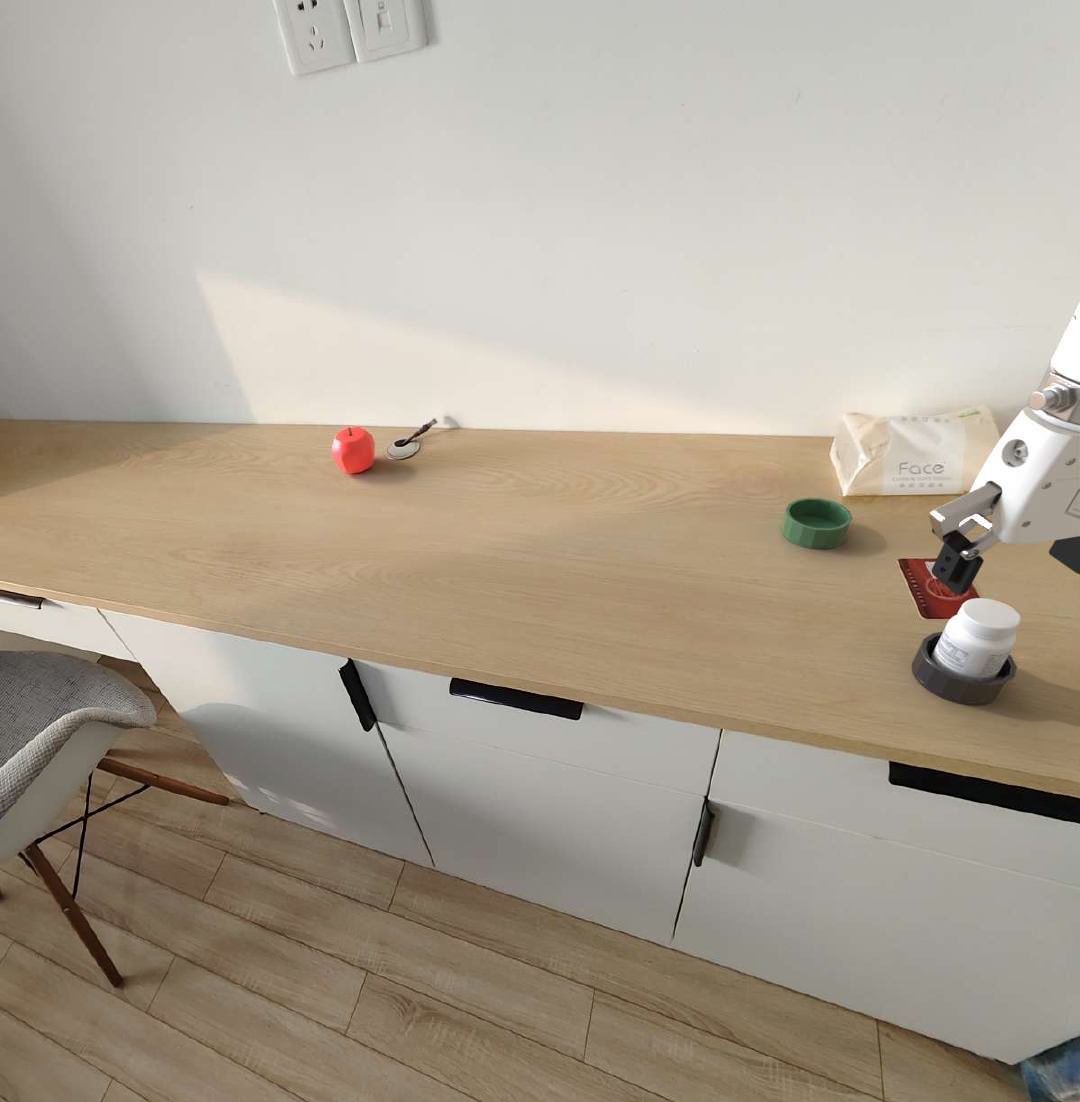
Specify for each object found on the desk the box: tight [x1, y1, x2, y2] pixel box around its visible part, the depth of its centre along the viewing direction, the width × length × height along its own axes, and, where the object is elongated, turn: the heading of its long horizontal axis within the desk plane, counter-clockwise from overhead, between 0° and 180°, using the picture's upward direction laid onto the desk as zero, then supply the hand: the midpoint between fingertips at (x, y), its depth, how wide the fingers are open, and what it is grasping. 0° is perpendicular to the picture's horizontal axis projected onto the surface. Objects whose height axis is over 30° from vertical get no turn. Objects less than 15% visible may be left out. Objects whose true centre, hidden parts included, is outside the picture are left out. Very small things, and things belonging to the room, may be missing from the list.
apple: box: [331, 426, 376, 475], centre depth 116 cm, size 8×8×8 cm
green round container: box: [780, 497, 853, 550], centre depth 82 cm, size 7×7×3 cm
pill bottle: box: [930, 597, 1022, 682], centre depth 61 cm, size 5×5×8 cm
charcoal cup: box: [911, 631, 1018, 706], centre depth 63 cm, size 7×7×3 cm
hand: (1007, 573), depth 56 cm, fingers open, 9 cm apart
